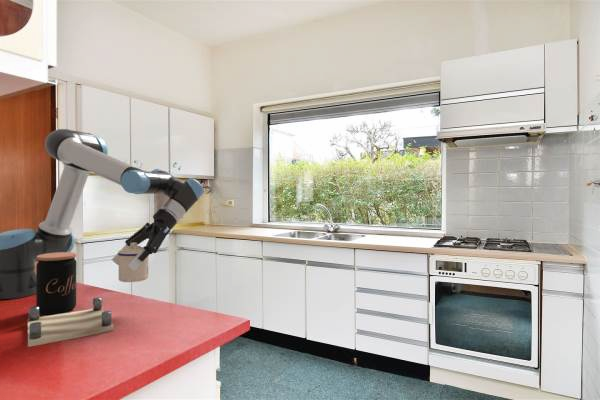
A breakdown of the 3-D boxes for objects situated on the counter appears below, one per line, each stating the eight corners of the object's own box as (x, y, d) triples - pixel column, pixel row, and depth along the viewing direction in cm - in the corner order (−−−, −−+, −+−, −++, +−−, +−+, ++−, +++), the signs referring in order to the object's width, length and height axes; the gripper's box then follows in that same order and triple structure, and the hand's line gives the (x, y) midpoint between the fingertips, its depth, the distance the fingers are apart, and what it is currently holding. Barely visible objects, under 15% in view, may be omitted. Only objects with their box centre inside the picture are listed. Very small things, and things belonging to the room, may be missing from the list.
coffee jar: (43, 318, 110) (43, 259, 109) (31, 311, 116) (31, 254, 116) (82, 310, 118) (82, 254, 118) (68, 303, 125) (68, 251, 124)
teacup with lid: (155, 278, 118) (155, 242, 117) (127, 284, 110) (127, 245, 110) (134, 273, 124) (134, 239, 124) (107, 278, 117) (107, 242, 117)
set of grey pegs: (29, 319, 105) (29, 307, 105) (101, 307, 116) (101, 296, 116) (29, 340, 90) (29, 326, 90) (112, 325, 101) (112, 312, 101)
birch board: (27, 324, 105) (27, 319, 105) (102, 312, 117) (102, 307, 117) (27, 347, 90) (28, 340, 90) (113, 330, 101) (113, 325, 101)
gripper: (194, 225, 120) (147, 279, 109) (159, 220, 136) (116, 266, 126) (179, 209, 116) (129, 263, 105) (145, 206, 132) (99, 253, 122)
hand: (122, 265), depth 115 cm, fingers closed on teacup with lid, 12 cm apart
